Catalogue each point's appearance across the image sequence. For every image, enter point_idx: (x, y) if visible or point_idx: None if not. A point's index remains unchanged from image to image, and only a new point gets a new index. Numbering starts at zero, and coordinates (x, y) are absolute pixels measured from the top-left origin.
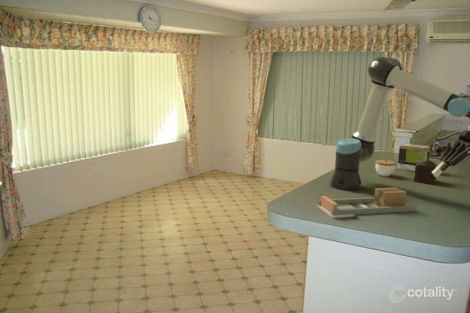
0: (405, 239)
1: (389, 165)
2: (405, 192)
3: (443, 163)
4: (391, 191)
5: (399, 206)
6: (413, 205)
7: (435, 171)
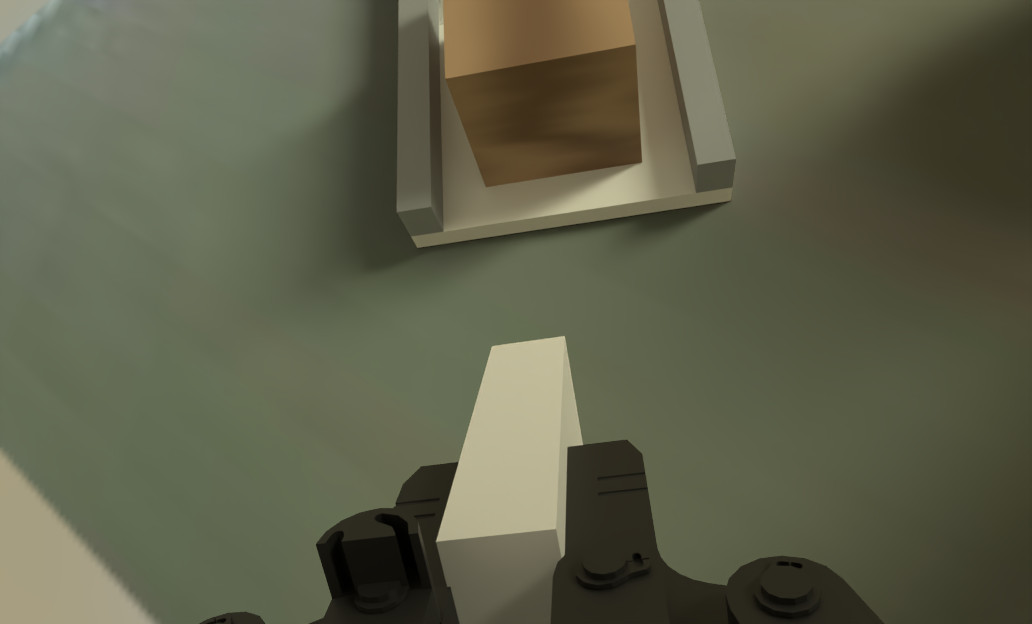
0: (41, 15)
1: None
2: (446, 72)
3: (446, 515)
4: None
5: (410, 88)
6: (417, 209)
7: (489, 366)
